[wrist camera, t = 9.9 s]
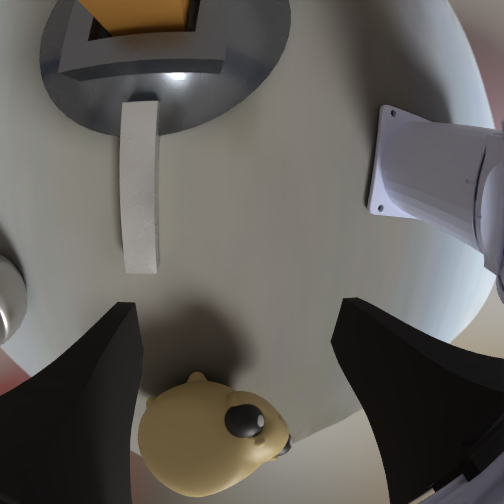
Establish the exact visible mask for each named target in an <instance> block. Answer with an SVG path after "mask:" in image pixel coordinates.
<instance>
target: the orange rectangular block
mask: <svg viewBox="0 0 504 504" xmlns="http://www.w3.org/2000/svg"><path fill="white" fill-rule="evenodd" d="M78 1H79V2H80V3H81V4H82V5H83V6H84V7H85V8H86V9H87V10H88V11H89V12H90V13H91V14H92V15H93V16H94V17H95V18H96V19H97V20H98V21H99V23H100V24H101V25H102V26H103V27H104V28H105V29H106V30H107V31H108V32H109V33H110V34H111V35H112V36H113V37H116V36H124V35H133V34H143V33H158V32H187V27H188V21H189V15H190V9H191V3H192V0H78Z"/></svg>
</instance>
